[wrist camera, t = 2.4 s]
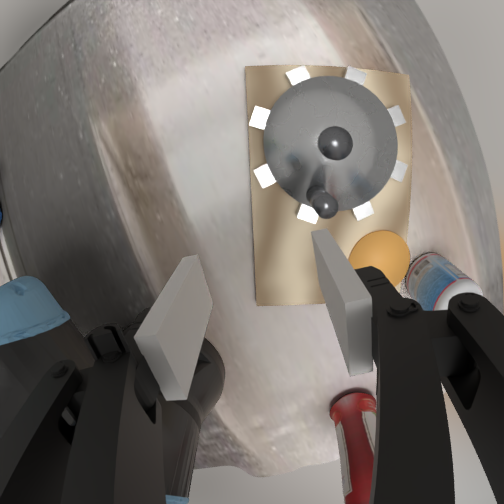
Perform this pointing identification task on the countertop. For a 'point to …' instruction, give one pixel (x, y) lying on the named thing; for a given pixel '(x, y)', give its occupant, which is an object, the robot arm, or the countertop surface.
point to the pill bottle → (437, 282)
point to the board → (285, 207)
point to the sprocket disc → (329, 144)
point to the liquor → (356, 444)
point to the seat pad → (382, 254)
